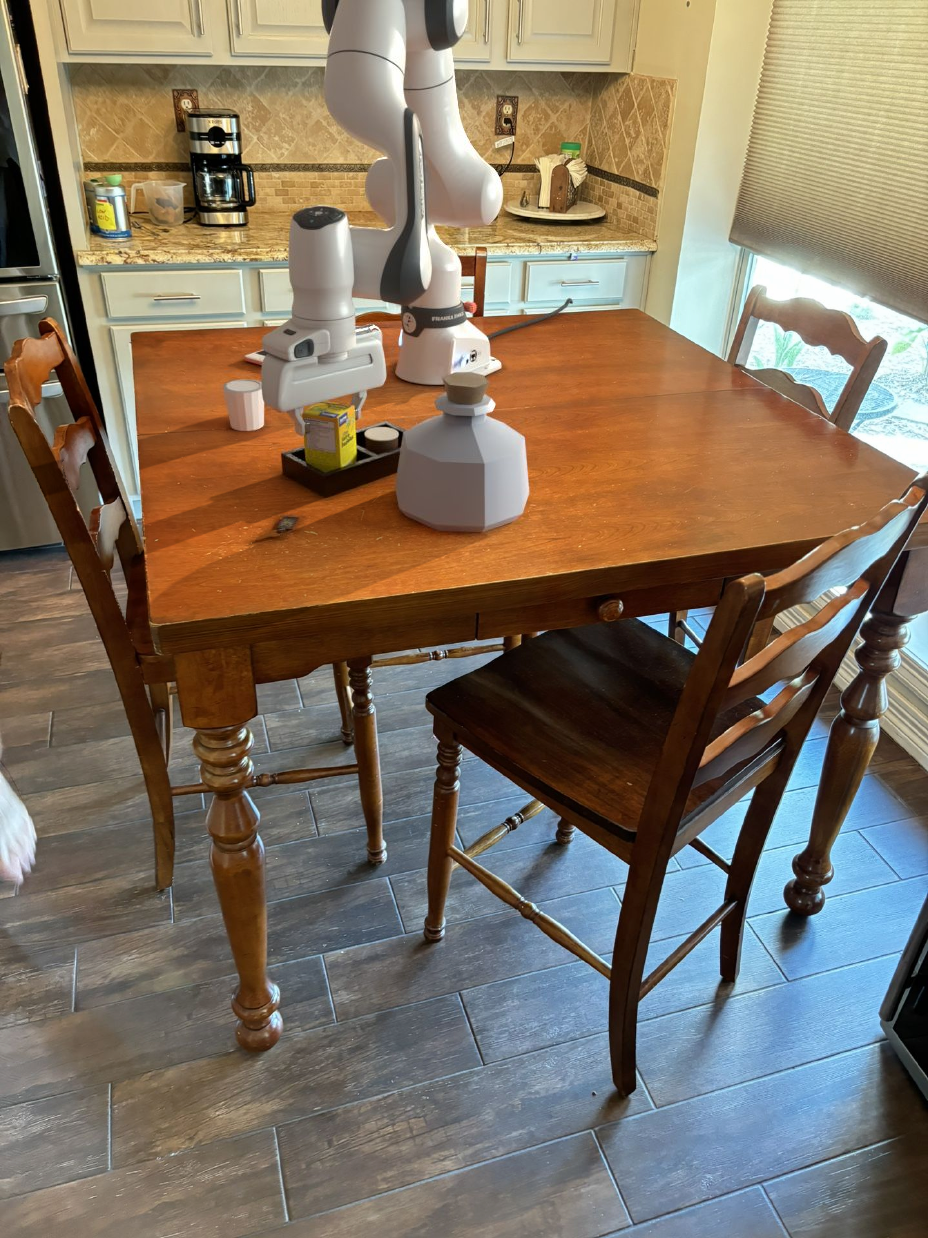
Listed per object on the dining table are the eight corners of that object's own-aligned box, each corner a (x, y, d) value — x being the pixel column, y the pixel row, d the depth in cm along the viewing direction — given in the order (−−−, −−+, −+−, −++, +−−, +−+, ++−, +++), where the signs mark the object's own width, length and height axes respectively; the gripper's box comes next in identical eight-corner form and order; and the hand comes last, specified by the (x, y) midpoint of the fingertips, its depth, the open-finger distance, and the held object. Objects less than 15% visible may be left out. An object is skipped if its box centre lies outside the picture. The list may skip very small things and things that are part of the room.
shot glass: (258, 434, 154) (254, 394, 150) (220, 429, 155) (215, 389, 151) (273, 419, 159) (270, 380, 156) (236, 415, 160) (232, 376, 157)
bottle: (470, 465, 146) (475, 347, 136) (554, 510, 134) (567, 385, 123) (366, 496, 135) (363, 371, 125) (447, 549, 123) (450, 415, 112)
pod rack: (386, 440, 153) (385, 420, 152) (430, 460, 147) (430, 440, 145) (282, 474, 141) (280, 452, 139) (325, 497, 135) (324, 476, 133)
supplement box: (358, 471, 143) (355, 404, 137) (341, 486, 138) (338, 418, 132) (323, 465, 144) (319, 398, 138) (306, 480, 139) (301, 411, 133)
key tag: (285, 515, 129) (285, 511, 129) (304, 519, 128) (304, 515, 128) (254, 540, 123) (254, 536, 122) (274, 545, 122) (273, 541, 122)
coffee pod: (384, 449, 150) (383, 424, 148) (405, 459, 147) (405, 434, 145) (358, 458, 147) (357, 432, 144) (379, 468, 144) (379, 442, 141)
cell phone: (243, 360, 185) (243, 355, 185) (304, 340, 198) (304, 335, 197) (275, 369, 181) (274, 364, 181) (335, 348, 194) (335, 344, 193)
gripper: (367, 316, 137) (369, 405, 144) (251, 340, 125) (259, 435, 132) (394, 326, 133) (395, 416, 141) (277, 351, 121) (285, 449, 128)
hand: (328, 426), depth 136 cm, fingers open, 8 cm apart
